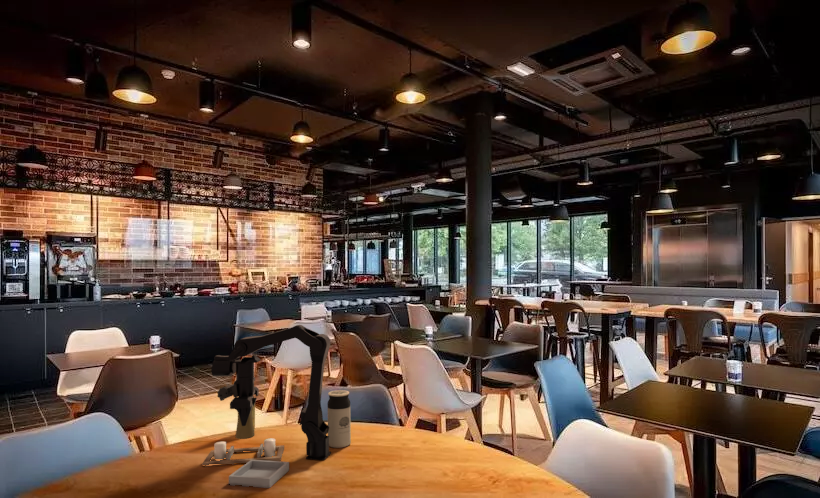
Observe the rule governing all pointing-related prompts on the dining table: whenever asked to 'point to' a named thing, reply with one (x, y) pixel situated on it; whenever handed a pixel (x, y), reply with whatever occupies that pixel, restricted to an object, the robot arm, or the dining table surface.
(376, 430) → the dining table surface
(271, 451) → the cylinder
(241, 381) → the robot arm
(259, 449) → the ladder
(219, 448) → the white short cylinder
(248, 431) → the cork
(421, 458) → the dining table surface
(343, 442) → the travel mug
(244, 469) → the tray
